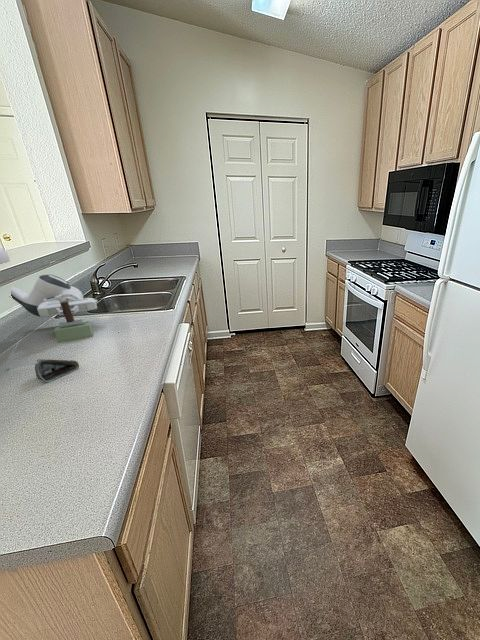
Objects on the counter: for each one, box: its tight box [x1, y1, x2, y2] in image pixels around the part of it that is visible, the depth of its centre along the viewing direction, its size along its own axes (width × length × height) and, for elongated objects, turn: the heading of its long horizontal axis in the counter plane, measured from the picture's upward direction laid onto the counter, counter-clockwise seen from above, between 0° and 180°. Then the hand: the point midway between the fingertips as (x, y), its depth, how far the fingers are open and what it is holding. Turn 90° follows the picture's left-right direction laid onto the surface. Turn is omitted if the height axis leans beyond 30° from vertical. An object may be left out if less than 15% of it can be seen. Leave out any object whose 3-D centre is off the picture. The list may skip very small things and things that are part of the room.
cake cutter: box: [58, 301, 84, 328], centre depth 132 cm, size 8×3×15 cm, turn 118°
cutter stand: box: [53, 321, 94, 343], centre depth 135 cm, size 12×5×6 cm, turn 118°
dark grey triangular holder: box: [34, 358, 80, 383], centre depth 109 cm, size 10×7×12 cm
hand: (67, 312), depth 130 cm, fingers closed on cake cutter, 2 cm apart
